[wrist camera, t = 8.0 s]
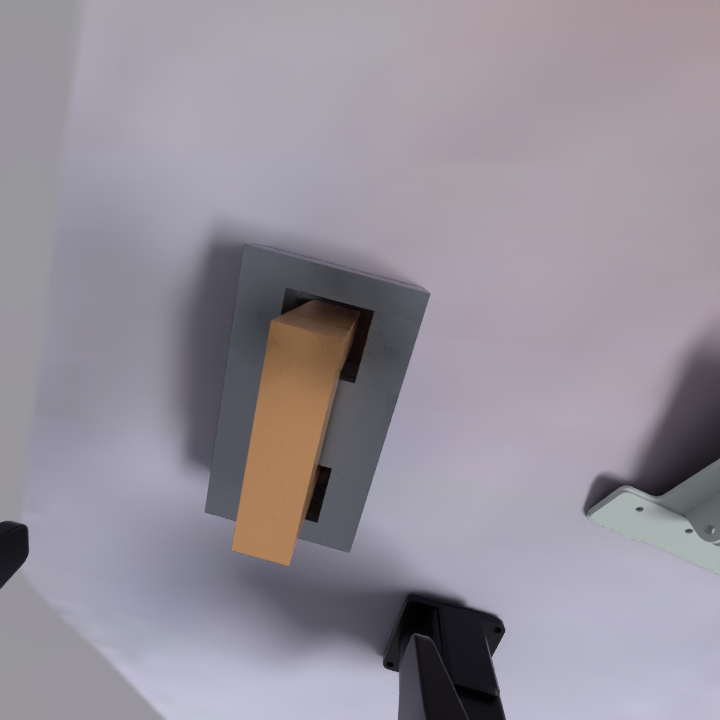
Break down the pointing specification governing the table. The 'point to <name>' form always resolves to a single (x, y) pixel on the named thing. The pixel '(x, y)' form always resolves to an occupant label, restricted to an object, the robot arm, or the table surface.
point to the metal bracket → (670, 517)
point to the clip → (291, 426)
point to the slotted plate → (353, 394)
